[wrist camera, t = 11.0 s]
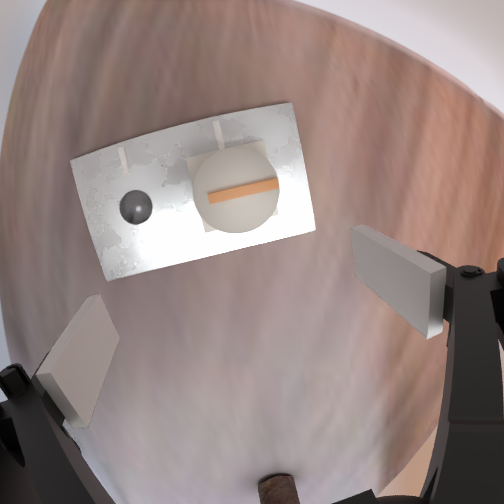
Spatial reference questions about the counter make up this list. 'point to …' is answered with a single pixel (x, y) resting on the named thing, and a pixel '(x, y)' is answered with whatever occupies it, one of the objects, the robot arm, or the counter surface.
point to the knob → (234, 188)
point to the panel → (184, 191)
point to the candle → (278, 491)
